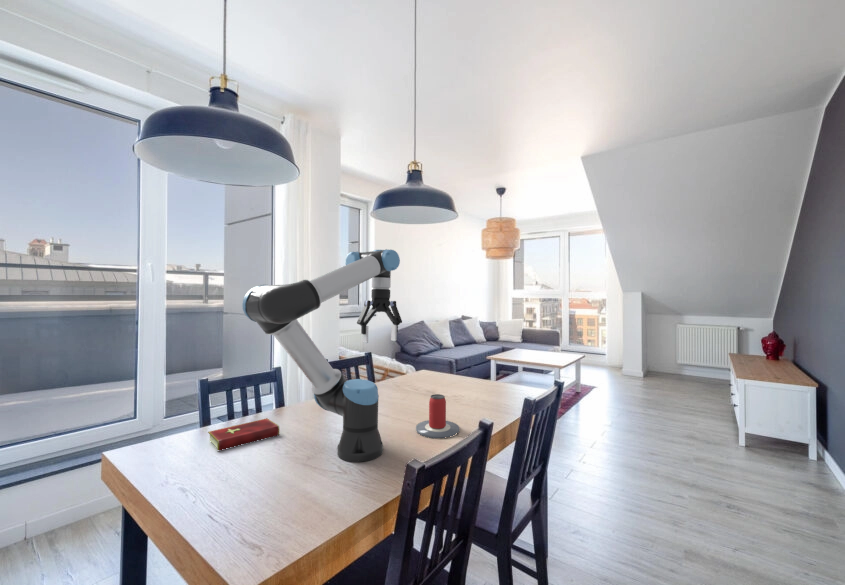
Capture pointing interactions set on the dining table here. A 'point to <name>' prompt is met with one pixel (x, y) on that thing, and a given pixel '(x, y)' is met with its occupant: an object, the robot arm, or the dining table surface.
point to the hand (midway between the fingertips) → (379, 341)
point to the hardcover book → (243, 433)
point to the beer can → (437, 411)
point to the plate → (437, 430)
